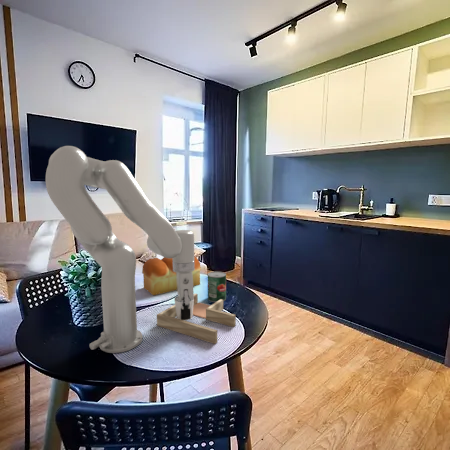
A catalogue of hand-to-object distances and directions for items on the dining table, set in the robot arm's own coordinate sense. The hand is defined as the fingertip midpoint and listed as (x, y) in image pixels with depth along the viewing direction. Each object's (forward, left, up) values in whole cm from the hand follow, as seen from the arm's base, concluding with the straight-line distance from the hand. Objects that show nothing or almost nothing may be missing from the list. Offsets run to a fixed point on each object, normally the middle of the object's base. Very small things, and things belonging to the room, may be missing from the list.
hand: (184, 315), depth 100 cm
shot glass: (0, 0, -1) cm, 1 cm away
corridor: (+4, -5, -3) cm, 7 cm away
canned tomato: (+24, +1, -3) cm, 24 cm away
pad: (+11, 0, -3) cm, 11 cm away
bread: (+27, +28, -3) cm, 39 cm away
